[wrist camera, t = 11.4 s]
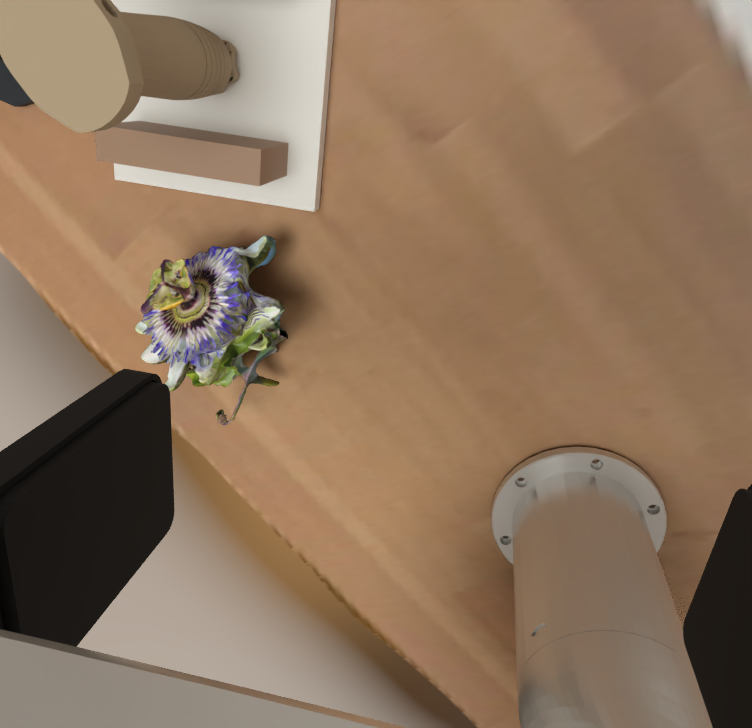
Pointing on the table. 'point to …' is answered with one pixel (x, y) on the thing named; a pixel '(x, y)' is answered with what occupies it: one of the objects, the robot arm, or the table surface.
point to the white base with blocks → (238, 108)
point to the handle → (107, 59)
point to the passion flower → (212, 318)
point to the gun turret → (11, 88)
